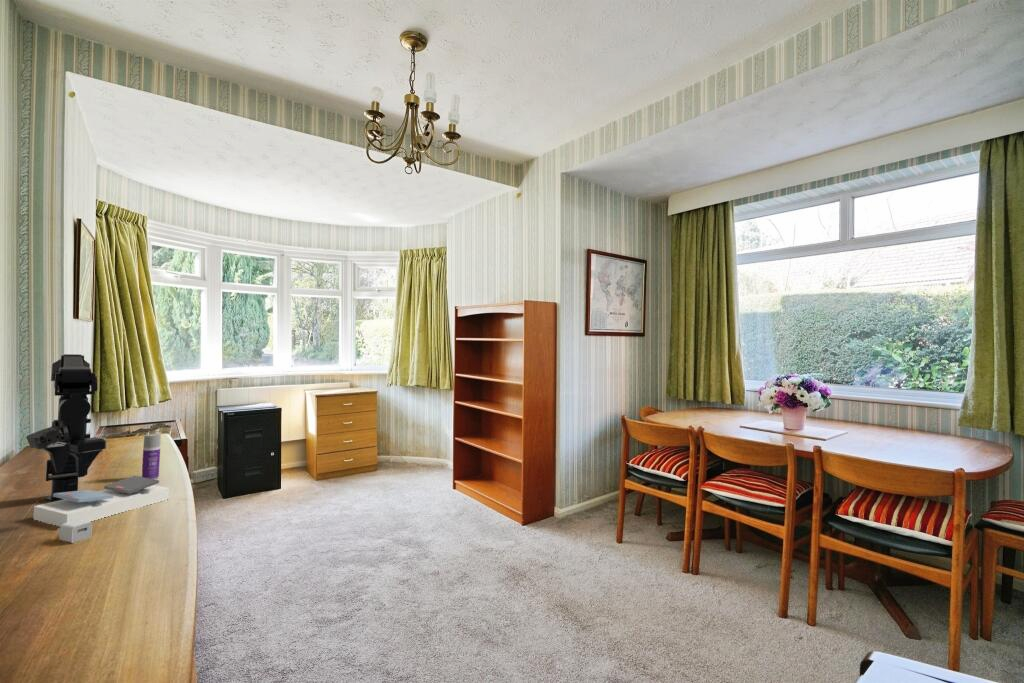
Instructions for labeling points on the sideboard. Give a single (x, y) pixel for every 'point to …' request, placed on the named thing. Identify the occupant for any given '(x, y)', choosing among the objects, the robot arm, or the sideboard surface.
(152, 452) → the container
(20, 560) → the sideboard surface
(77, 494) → the plate
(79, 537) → the usb wall charger
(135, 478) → the rocker charcoal
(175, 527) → the sideboard surface
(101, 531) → the sideboard surface
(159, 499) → the white long base
